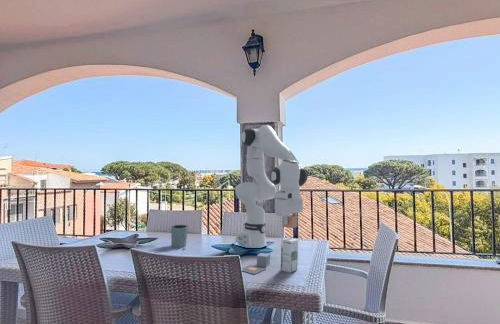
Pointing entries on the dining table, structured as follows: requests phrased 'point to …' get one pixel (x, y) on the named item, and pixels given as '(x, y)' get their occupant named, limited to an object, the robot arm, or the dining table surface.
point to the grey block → (263, 259)
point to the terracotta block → (291, 222)
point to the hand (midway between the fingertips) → (289, 223)
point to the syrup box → (289, 255)
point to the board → (253, 269)
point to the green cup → (179, 236)
